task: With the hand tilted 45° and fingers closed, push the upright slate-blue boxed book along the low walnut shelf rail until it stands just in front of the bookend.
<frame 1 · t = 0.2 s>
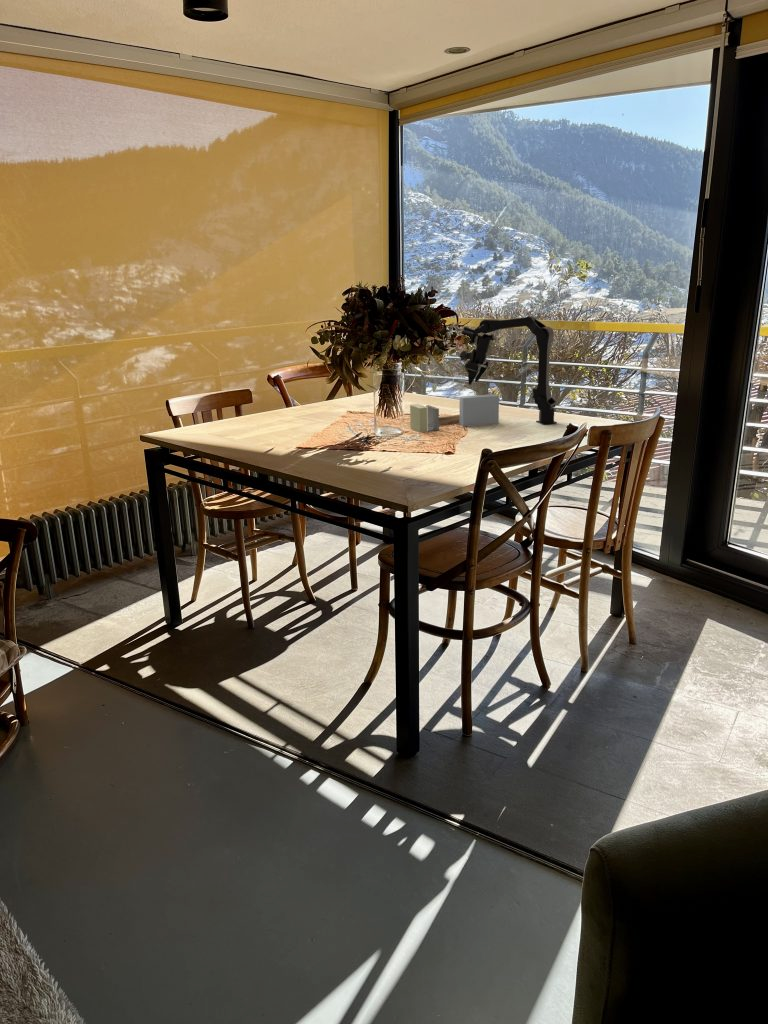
hand: (472, 383, 340), 15 cm above the table, tool pointing down, fingers open, 9 cm apart
bookend: (432, 428, 325), on the table
boxed book: (478, 424, 331), on the table
shelved book: (419, 429, 323), on the table
shelf rail: (460, 421, 336), on the table
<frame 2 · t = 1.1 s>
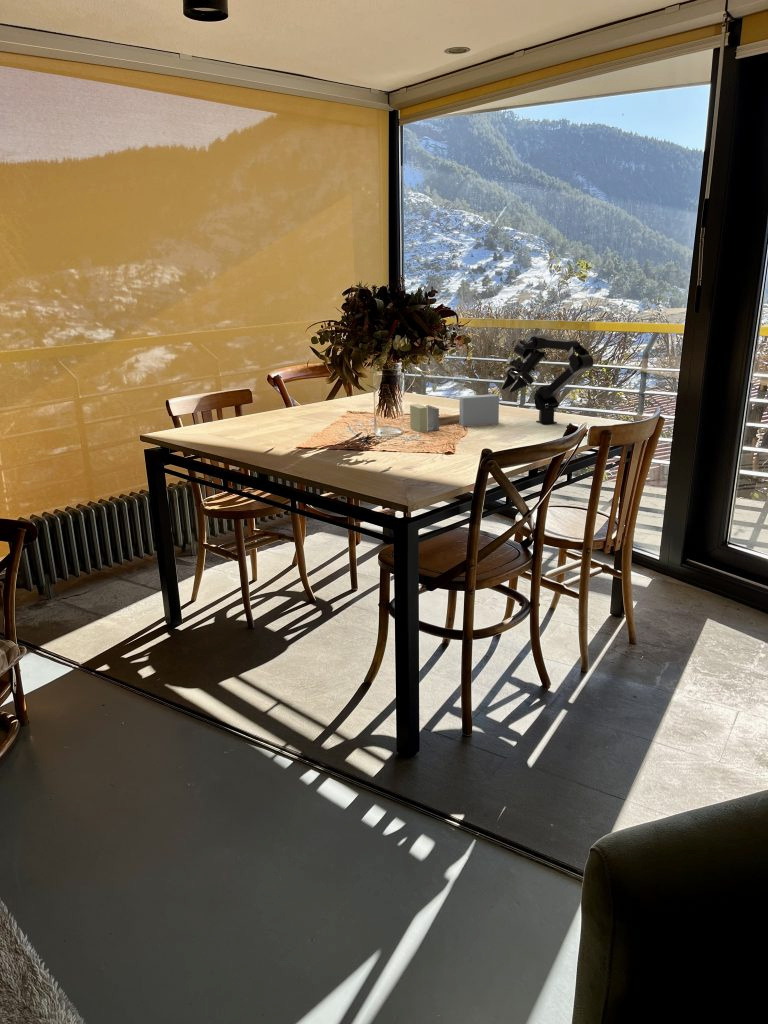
hand: (505, 390, 329), 13 cm above the table, tool tilted 45°, fingers open, 8 cm apart
nothing on the table moved.
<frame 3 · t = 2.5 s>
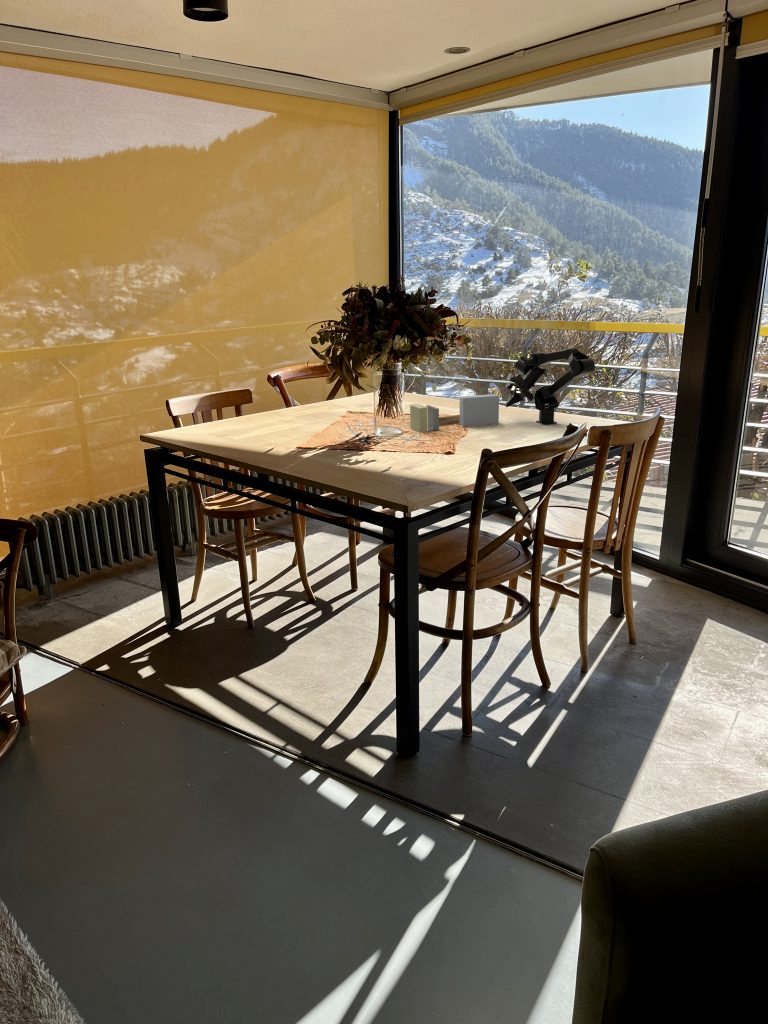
hand: (505, 406, 331), 7 cm above the table, tool tilted 45°, fingers closed
nothing on the table moved.
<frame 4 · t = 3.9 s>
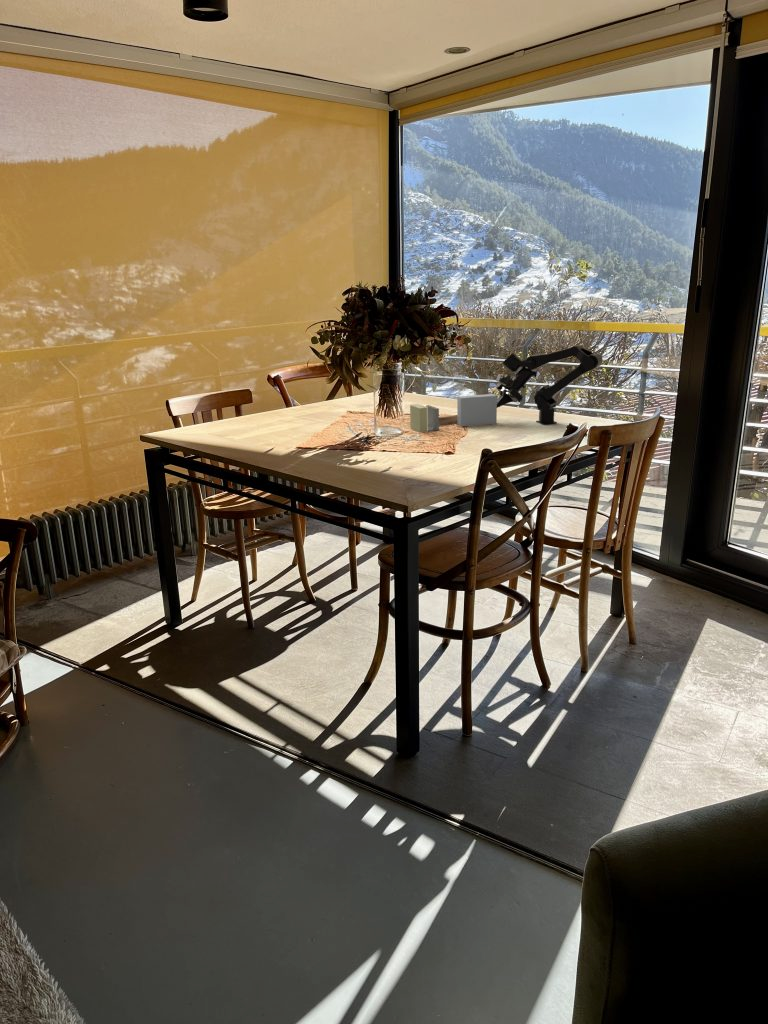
hand: (495, 407, 331), 7 cm above the table, tool tilted 45°, fingers closed, pressing on boxed book
boxed book: (476, 424, 331), on the table, touching gripper
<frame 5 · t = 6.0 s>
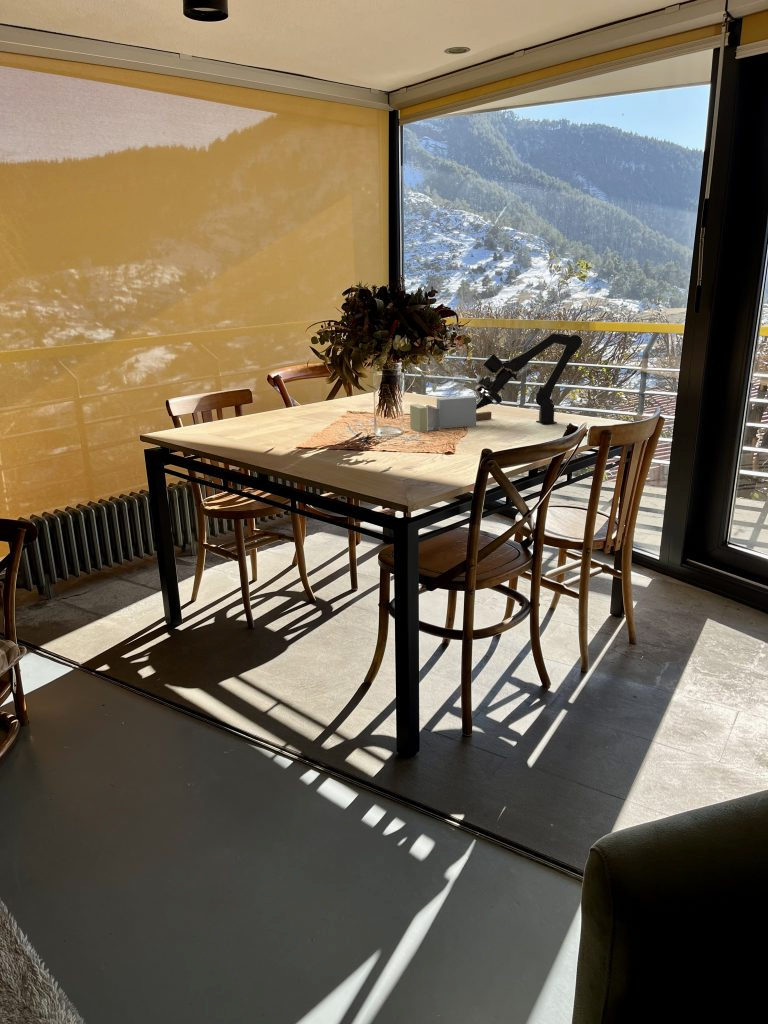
hand: (474, 409, 328), 7 cm above the table, tool tilted 45°, fingers closed
boxed book: (456, 425, 329), on the table
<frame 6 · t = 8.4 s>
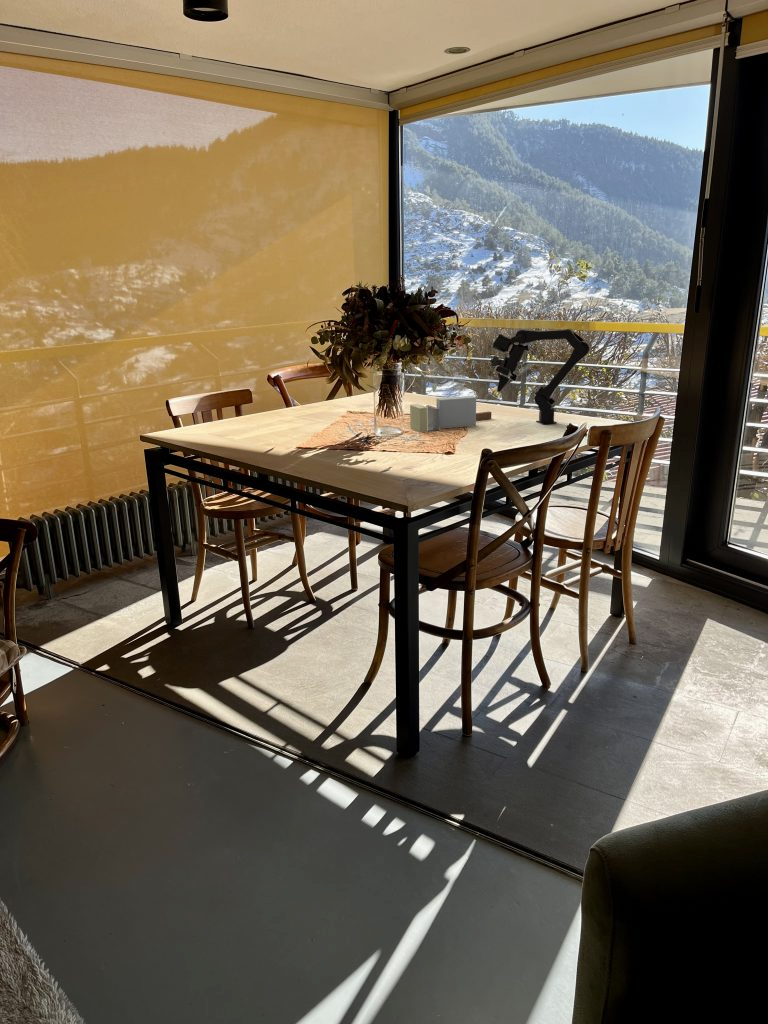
hand: (498, 391, 330), 13 cm above the table, tool tilted 25°, fingers closed
nothing on the table moved.
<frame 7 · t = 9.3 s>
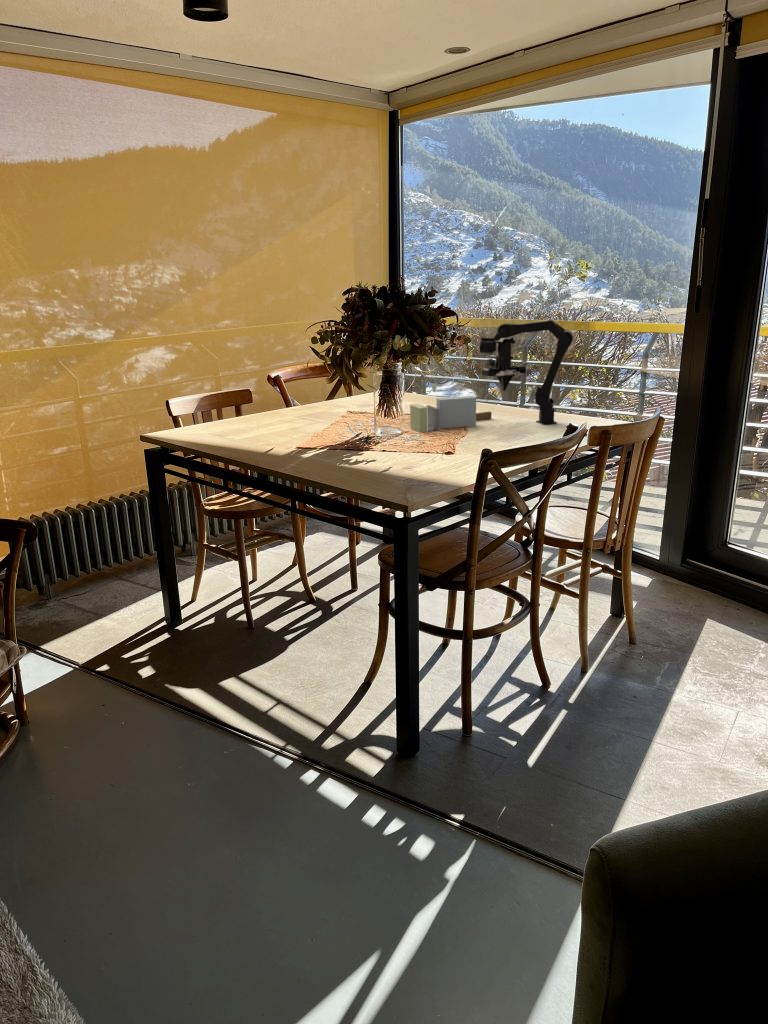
hand: (503, 390, 331), 13 cm above the table, tool pointing down, fingers closed
nothing on the table moved.
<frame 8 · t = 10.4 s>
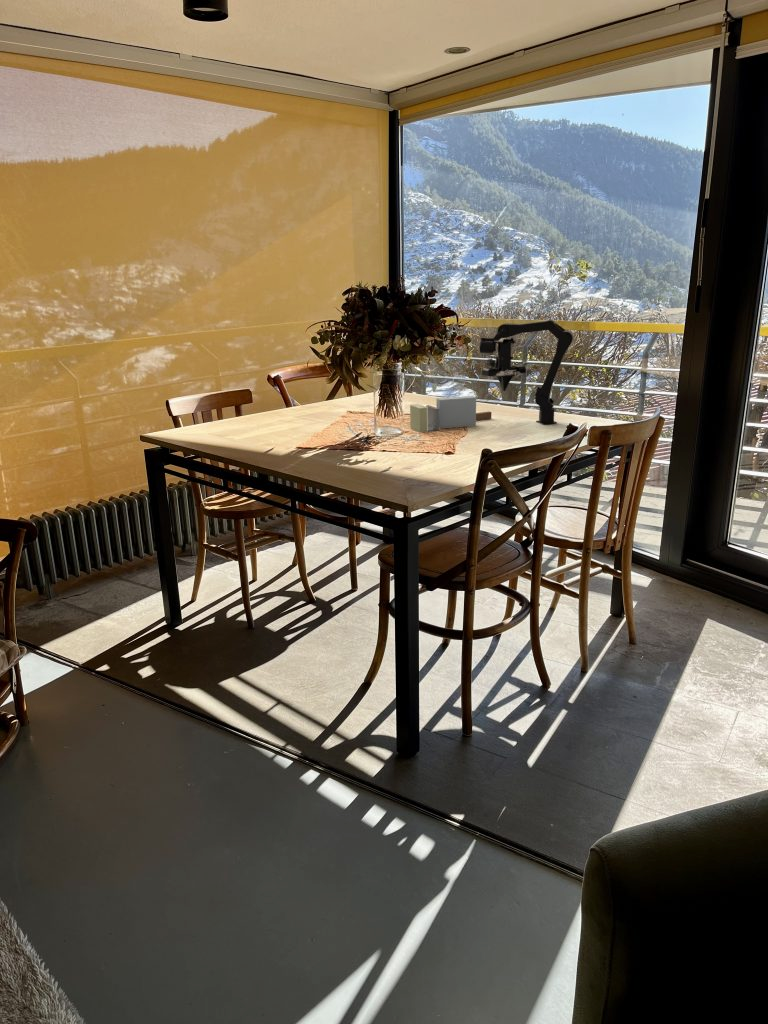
hand: (503, 390, 331), 13 cm above the table, tool pointing down, fingers closed
nothing on the table moved.
at the end: boxed book inside the target area (0.9 cm from its centre), on the table; boxed book tilted 0°; boxed book moved 10.3 cm from its start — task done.
